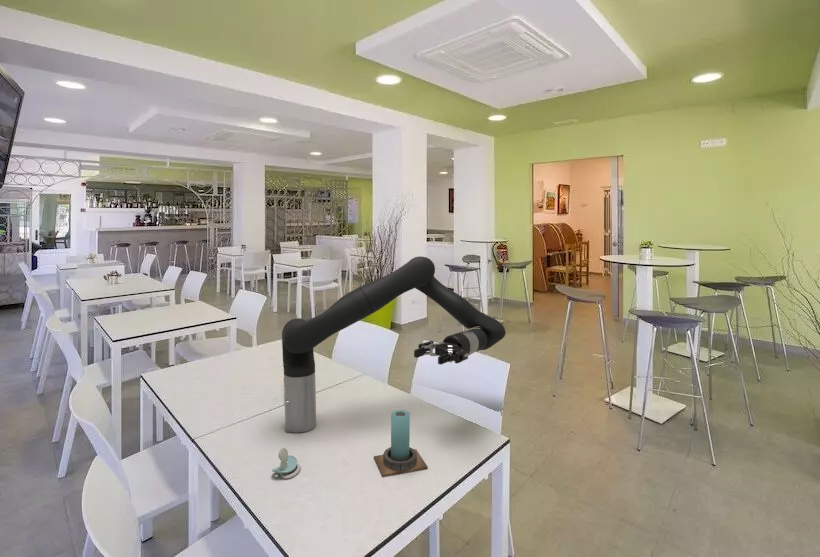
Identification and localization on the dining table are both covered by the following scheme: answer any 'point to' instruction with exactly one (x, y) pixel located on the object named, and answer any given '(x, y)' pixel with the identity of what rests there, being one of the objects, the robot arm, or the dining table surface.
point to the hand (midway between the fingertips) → (426, 357)
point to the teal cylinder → (400, 435)
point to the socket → (399, 463)
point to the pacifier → (287, 464)
